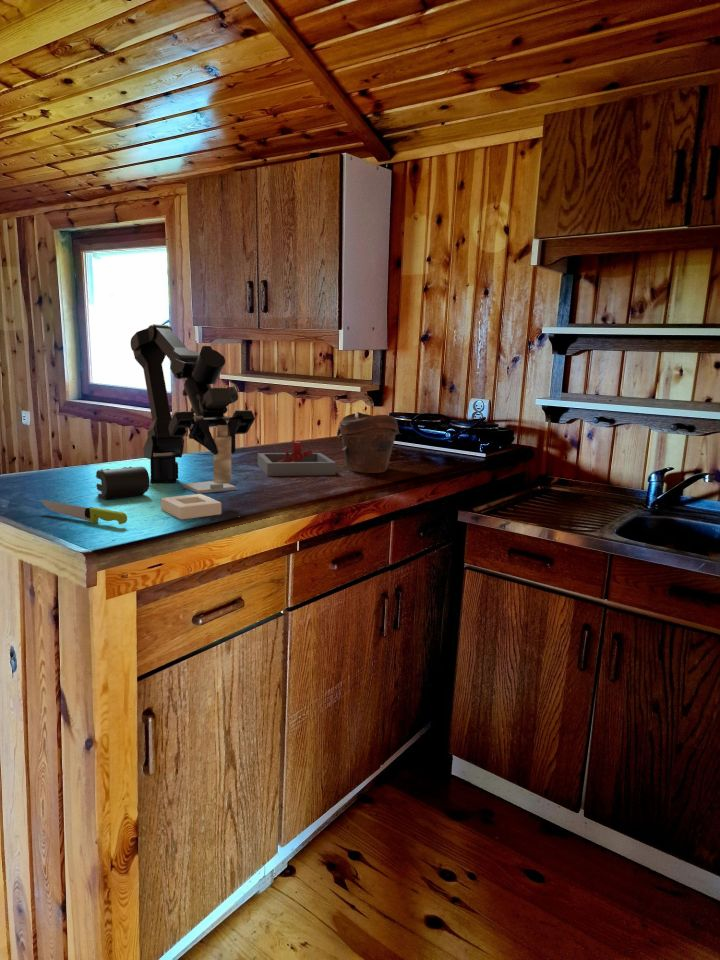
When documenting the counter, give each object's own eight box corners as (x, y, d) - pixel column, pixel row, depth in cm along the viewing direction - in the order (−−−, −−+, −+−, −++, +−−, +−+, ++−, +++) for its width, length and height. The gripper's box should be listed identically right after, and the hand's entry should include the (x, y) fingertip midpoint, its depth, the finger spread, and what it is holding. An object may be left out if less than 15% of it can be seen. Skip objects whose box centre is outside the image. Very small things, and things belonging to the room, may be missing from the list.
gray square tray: (267, 475, 177) (267, 463, 176) (257, 464, 195) (257, 453, 194) (335, 474, 183) (336, 462, 182) (320, 464, 201) (320, 452, 200)
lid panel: (183, 487, 158) (182, 480, 157) (219, 483, 164) (219, 476, 164) (198, 493, 151) (198, 486, 150) (236, 489, 157) (236, 482, 157)
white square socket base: (161, 509, 134) (161, 498, 134) (200, 504, 140) (200, 493, 139) (180, 519, 127) (180, 507, 126) (221, 514, 132) (221, 502, 132)
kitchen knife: (38, 514, 127) (37, 499, 126) (43, 512, 128) (43, 498, 128) (123, 529, 118) (122, 514, 118) (128, 528, 119) (127, 513, 119)
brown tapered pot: (350, 461, 207) (352, 407, 203) (406, 468, 198) (409, 412, 195) (323, 470, 191) (325, 411, 187) (383, 478, 183) (386, 416, 179)
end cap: (107, 502, 139) (106, 472, 138) (95, 496, 144) (93, 467, 143) (150, 497, 146) (149, 468, 144) (137, 491, 151) (136, 464, 149)
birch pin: (214, 483, 136) (214, 426, 134) (212, 480, 139) (212, 424, 137) (232, 483, 137) (232, 426, 135) (230, 480, 141) (230, 424, 138)
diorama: (281, 463, 195) (282, 436, 194) (317, 466, 192) (318, 439, 190) (266, 468, 185) (266, 440, 184) (303, 472, 182) (304, 443, 180)
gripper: (172, 373, 131) (196, 431, 125) (251, 374, 143) (276, 428, 136) (158, 407, 138) (180, 464, 132) (234, 406, 150) (257, 458, 144)
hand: (225, 453), depth 136 cm, fingers closed on birch pin, 4 cm apart
